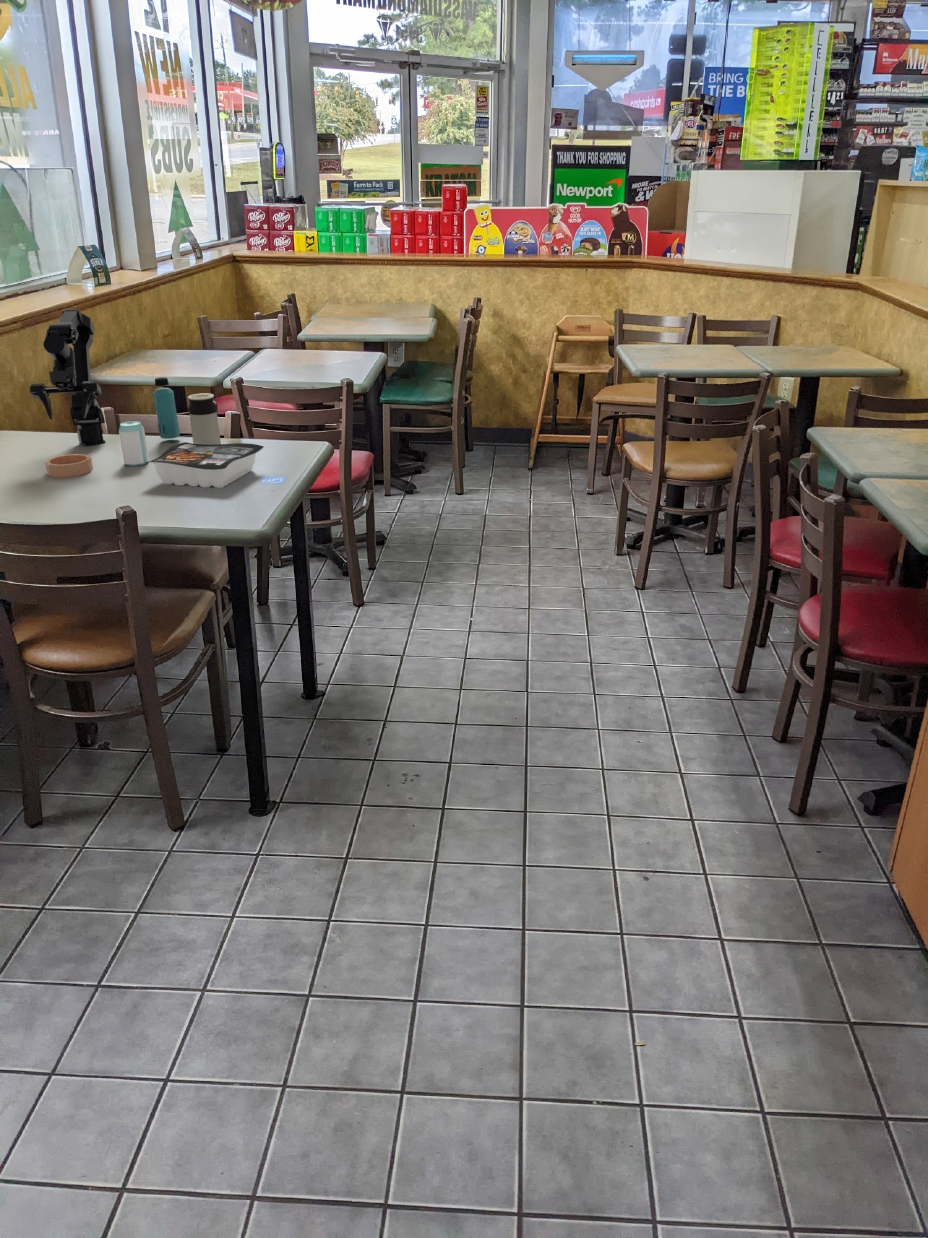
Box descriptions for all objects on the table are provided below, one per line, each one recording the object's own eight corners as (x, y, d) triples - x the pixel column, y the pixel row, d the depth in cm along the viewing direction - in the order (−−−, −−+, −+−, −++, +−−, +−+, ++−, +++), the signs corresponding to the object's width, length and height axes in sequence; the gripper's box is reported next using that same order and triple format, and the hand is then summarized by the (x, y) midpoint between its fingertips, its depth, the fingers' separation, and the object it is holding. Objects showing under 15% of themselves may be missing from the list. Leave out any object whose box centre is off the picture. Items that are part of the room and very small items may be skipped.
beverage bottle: (184, 438, 316) (175, 375, 308) (176, 443, 310) (167, 379, 302) (164, 438, 317) (155, 375, 308) (156, 443, 311) (146, 379, 302)
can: (119, 465, 288) (112, 424, 283) (136, 459, 294) (130, 419, 289) (137, 467, 285) (130, 426, 280) (154, 461, 291) (148, 421, 286)
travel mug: (215, 459, 292) (207, 398, 284) (190, 458, 293) (182, 398, 286) (226, 452, 299) (219, 393, 291) (202, 451, 300) (194, 392, 293)
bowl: (84, 463, 291) (82, 451, 289) (98, 471, 282) (95, 460, 281) (43, 470, 284) (40, 459, 283) (55, 479, 276) (52, 467, 274)
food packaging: (142, 460, 265) (185, 439, 285) (146, 487, 268) (189, 464, 288) (225, 465, 259) (263, 444, 279) (228, 492, 262) (266, 469, 282)
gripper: (21, 357, 276) (25, 412, 275) (90, 354, 278) (94, 408, 277) (34, 371, 287) (37, 423, 286) (100, 368, 289) (103, 420, 288)
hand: (67, 418), depth 284 cm, fingers open, 9 cm apart
